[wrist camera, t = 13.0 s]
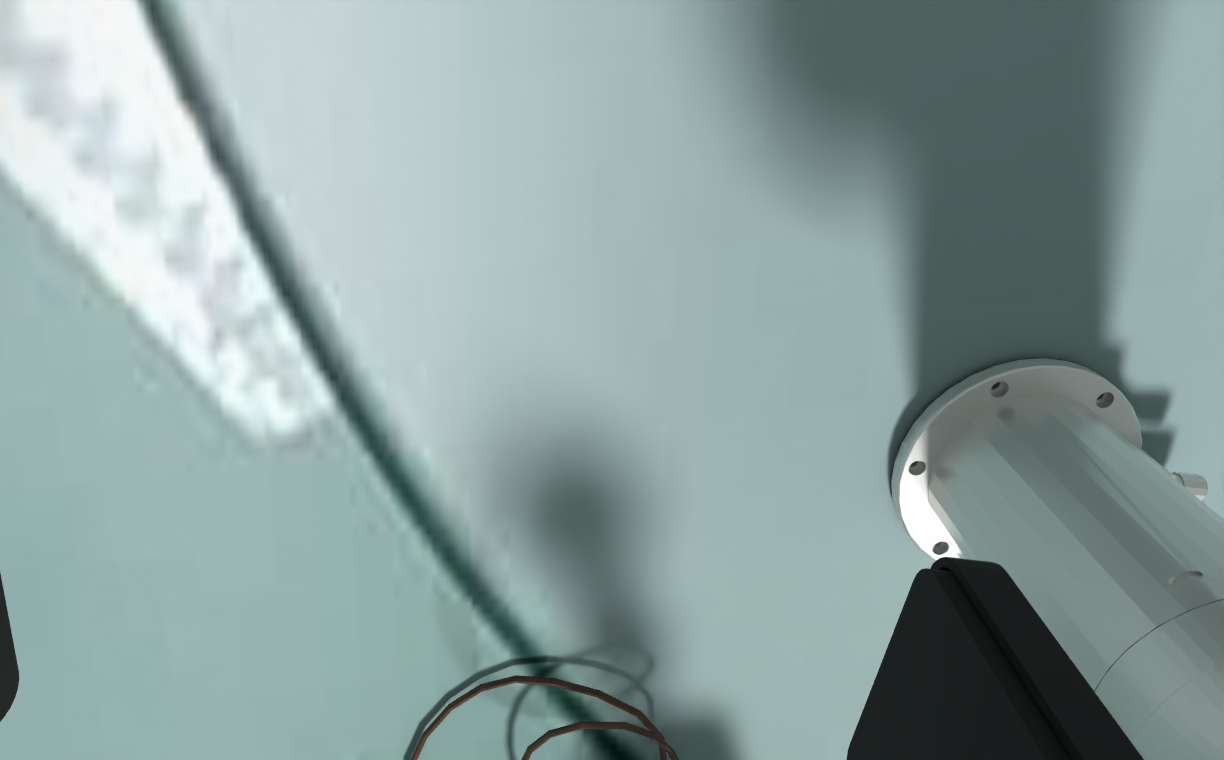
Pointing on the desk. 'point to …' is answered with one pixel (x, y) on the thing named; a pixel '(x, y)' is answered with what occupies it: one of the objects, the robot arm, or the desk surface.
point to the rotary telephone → (652, 734)
